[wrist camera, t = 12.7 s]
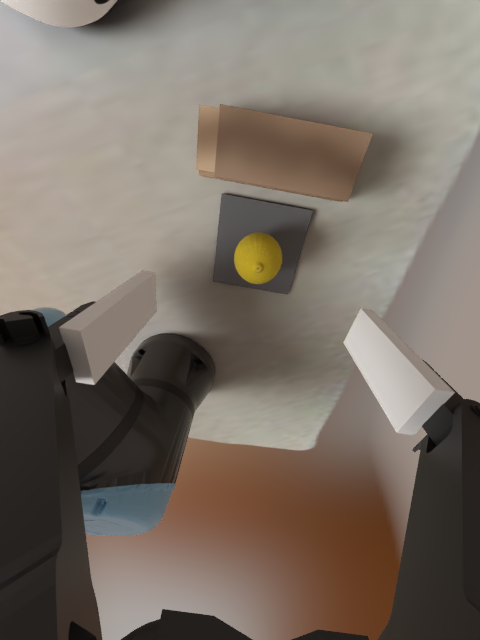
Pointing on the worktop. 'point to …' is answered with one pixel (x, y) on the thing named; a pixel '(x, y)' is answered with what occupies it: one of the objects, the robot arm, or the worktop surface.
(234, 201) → the rubber mat
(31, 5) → the milk container
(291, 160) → the wooden blocks
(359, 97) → the worktop surface
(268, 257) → the lemon
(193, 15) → the worktop surface
